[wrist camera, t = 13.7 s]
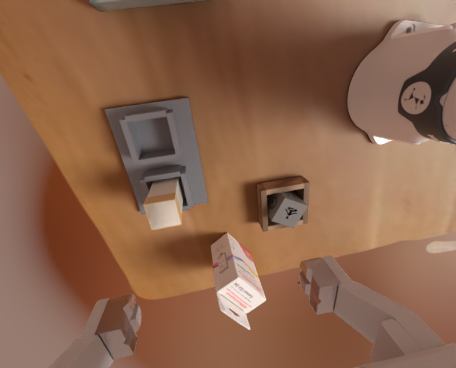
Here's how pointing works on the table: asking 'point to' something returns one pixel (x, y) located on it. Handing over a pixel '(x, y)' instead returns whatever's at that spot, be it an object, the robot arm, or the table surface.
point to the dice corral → (278, 187)
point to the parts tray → (132, 3)
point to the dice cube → (285, 208)
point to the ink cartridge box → (235, 279)
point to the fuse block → (159, 147)
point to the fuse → (164, 203)
